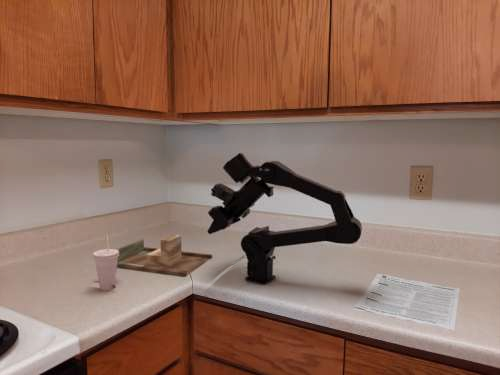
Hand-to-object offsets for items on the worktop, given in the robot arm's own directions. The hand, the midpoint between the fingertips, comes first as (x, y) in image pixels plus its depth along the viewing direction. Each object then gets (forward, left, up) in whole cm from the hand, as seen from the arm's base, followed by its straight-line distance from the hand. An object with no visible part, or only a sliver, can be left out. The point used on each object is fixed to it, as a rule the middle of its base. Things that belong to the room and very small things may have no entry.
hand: (211, 231), depth 106 cm
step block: (+16, +4, -11) cm, 20 cm away
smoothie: (+16, +24, -13) cm, 32 cm away
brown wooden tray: (+16, +4, -13) cm, 21 cm away
